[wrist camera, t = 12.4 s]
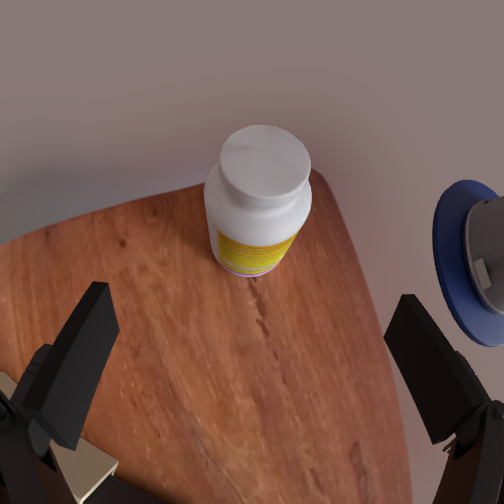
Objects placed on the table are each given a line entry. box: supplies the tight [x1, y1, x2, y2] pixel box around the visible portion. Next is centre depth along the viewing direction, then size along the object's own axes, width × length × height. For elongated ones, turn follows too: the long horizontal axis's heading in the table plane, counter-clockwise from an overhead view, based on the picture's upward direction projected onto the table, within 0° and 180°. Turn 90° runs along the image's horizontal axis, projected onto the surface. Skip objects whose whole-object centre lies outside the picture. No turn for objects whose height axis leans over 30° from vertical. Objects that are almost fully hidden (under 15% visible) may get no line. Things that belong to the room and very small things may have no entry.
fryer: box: [0, 372, 119, 504], centre depth 13 cm, size 16×14×9 cm
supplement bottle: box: [204, 125, 312, 277], centre depth 20 cm, size 7×7×13 cm
